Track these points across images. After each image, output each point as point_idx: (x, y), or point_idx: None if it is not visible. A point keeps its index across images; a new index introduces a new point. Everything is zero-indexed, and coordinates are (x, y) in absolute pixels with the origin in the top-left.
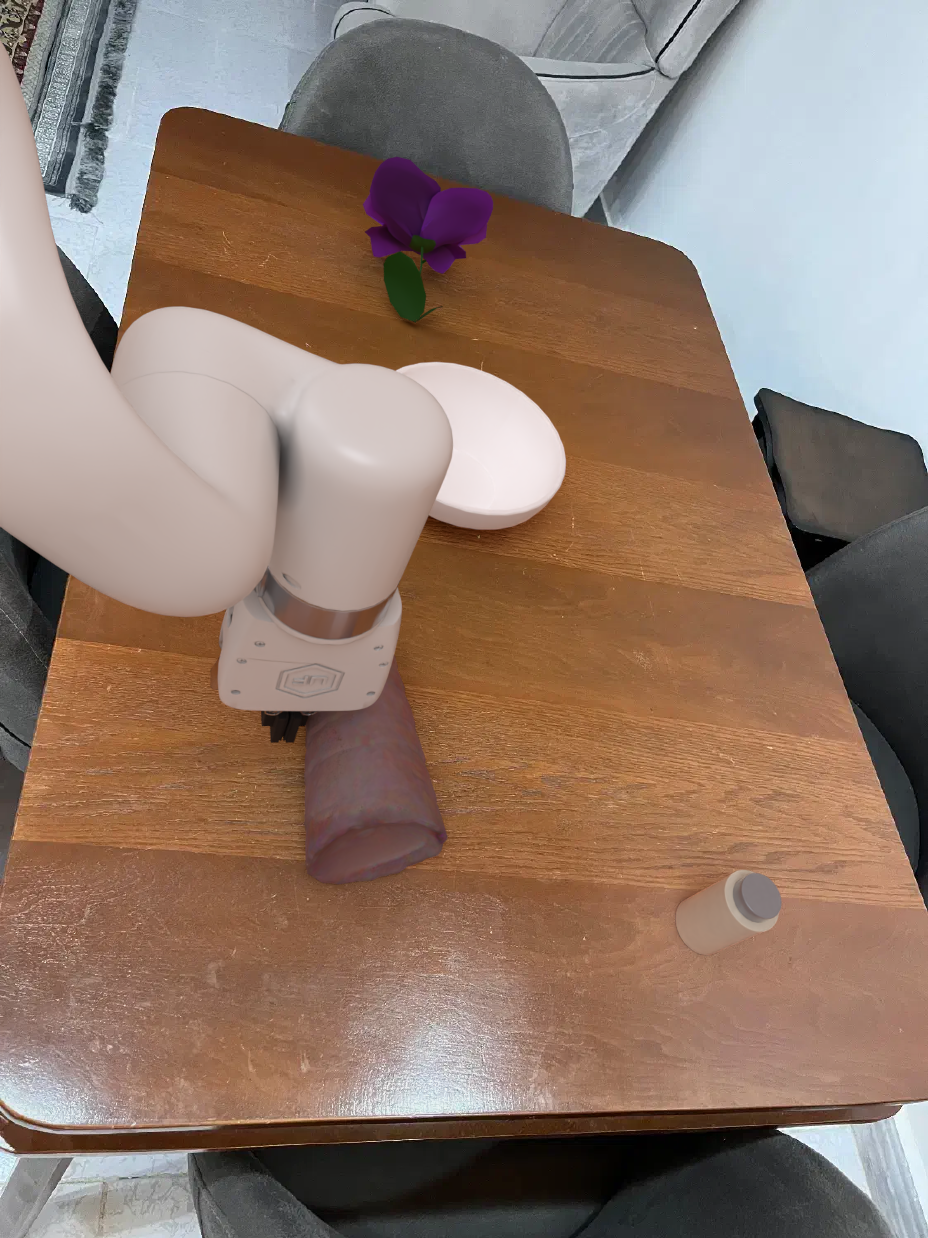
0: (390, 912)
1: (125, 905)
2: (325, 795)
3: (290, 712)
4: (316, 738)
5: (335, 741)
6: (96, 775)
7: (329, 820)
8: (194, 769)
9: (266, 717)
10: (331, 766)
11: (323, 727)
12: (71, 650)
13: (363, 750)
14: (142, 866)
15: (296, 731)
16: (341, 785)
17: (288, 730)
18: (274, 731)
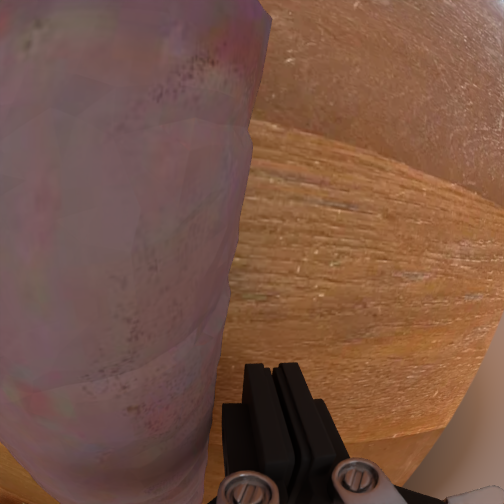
0: None
1: (475, 115)
2: (203, 180)
3: (291, 467)
4: (203, 392)
5: (148, 401)
6: (477, 292)
7: (209, 45)
8: (384, 302)
9: (333, 432)
10: (164, 314)
11: (184, 423)
12: (447, 418)
13: (32, 372)
14: (460, 160)
15: (256, 404)
16: (121, 211)
17: (277, 405)
18: (312, 400)
